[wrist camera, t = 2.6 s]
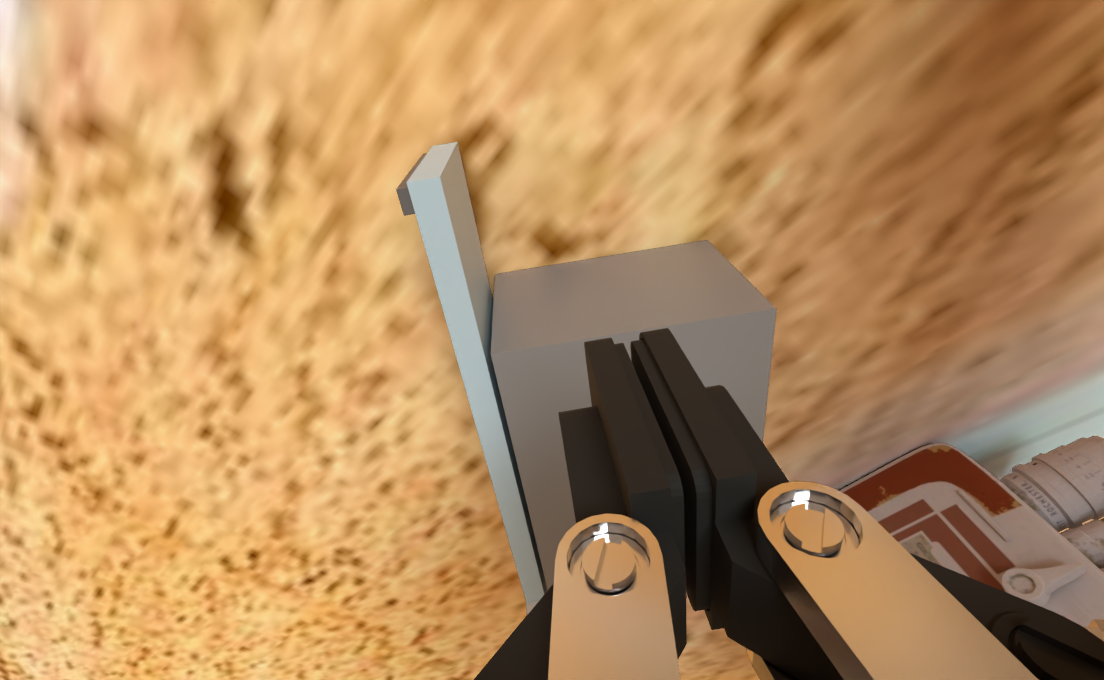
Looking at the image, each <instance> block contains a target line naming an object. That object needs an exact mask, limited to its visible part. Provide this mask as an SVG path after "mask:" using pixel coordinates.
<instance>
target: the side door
mask: <svg viewBox="0 0 1104 680" xmlns="http://www.w3.org/2000/svg"><path fill="white" fill-rule="evenodd" d="M396 190H397V194H398V197H399V201H400V204H401V207H402V211H403V214H404V215H410V214H416V218H417V221H418V225H419V228H420V232H421V235H422V239H423V242H424V246H425V249H426V253H427V256H428V260H429V263H430V267H431V270H432V274H433V277H434V281H435V284H436V288H437V291H438V295H439V298H440V302H441V305H442V309H443V312H444V316H445V319H446V323H447V326H448V330H449V333H450V337H451V340H452V344H453V347H454V351H455V354H456V358H457V361H458V365H459V368H460V372H461V375H462V379H463V382H464V386H465V390H466V393H467V397H468V400H469V404H470V407H471V411H472V414H473V418H474V421H475V425H476V428H477V432H478V435H479V439H480V442H481V446H482V449H483V453H484V456H485V460H486V463H487V467H488V470H489V474H490V477H491V481H492V484H493V488H494V491H495V495H496V498H497V502H498V505H499V509H500V512H501V516H502V519H503V523H504V526H505V530H506V533H507V537H508V540H509V544H510V547H511V551H512V554H513V558H514V561H515V565H516V568H517V572H518V575H519V579H520V582H521V586H522V589H523V593H524V596H525V600H526V613H527V615H528V614H529V612H530V611H531V610H532V609H533V608H534V606H535V605H536V604H537V603H538V602H539V600H540V599H541V598H542V597H543V596H544V594H545V593H546V592H547V591H548V589H547V585H546V581H545V577H544V572H543V568H542V564H541V560H540V556H539V552H538V548H537V544H536V539H535V535H534V531H533V527H532V523H531V519H530V515H529V511H528V506H527V502H526V498H525V494H524V490H523V486H522V482H521V477H520V473H519V469H518V465H517V461H516V457H515V453H514V449H513V444H512V440H511V436H510V432H509V428H508V424H507V420H506V416H505V411H504V407H503V403H502V399H501V395H500V391H499V387H498V383H497V378H496V374H495V370H494V366H493V362H492V358H491V339H492V320H493V298H492V294H491V289H490V285H489V280H488V276H487V272H486V267H485V263H484V258H483V254H482V249H481V245H480V240H479V236H478V231H477V227H476V223H475V218H474V214H473V209H472V205H471V200H470V196H469V191H468V187H467V182H466V178H465V174H464V169H463V165H462V160H461V156H460V151H459V147H458V142H454V143H448V144H441V145H435V146H432V147H431V149H430V150H429V152H428V153H425V154H423V155H422V156H421V157H420V159H419V160H418V161H417V163H416V164H415V165H414V167H413V168H412V169H411V171H410V172H409V173H408V175H407V176H406V177H405V179H404V180H403V181H402V183H401V184H400V185H399V187H398V188H397V189H396Z"/></svg>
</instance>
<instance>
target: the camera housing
mask: <svg viewBox="0 0 1104 680" xmlns="http://www.w3.org/2000/svg"><path fill="white" fill-rule="evenodd" d="M775 319H776V308H775V307H774V306H773V305H772V304H771V303H770V302H769V301H768V300H767V299H766V298H765V297H764V296H763V295H762V294H761V293H760V292H759V291H758V290H757V289H756V288H755V287H754V286H753V285H752V284H751V283H750V282H749V281H748V280H747V279H746V278H745V277H744V276H743V275H742V274H741V273H740V272H739V271H738V270H737V269H736V268H735V267H734V266H733V265H732V264H731V263H730V262H729V261H728V260H727V259H726V258H725V257H724V256H723V255H722V254H721V253H720V252H719V251H718V250H717V249H716V248H715V247H714V246H713V245H712V244H711V243H710V242H709V241H708V240H704V241H698V242H692V243H686V244H679V245H673V246H667V247H661V248H654V249H648V250H642V251H636V252H630V253H623V254H617V255H611V256H605V257H598V258H592V259H586V260H580V261H574V262H567V263H561V264H555V265H549V266H543V267H536V268H530V269H524V270H518V271H511V272H505V273H499V274H495V283H494V302H493V320H492V339H491V358H492V362H493V366H494V370H495V374H496V378H497V383H498V387H499V391H500V395H501V399H502V403H503V407H504V411H505V416H506V420H507V424H508V428H509V432H510V436H511V440H512V444H513V449H514V453H515V457H516V461H517V465H518V469H519V473H520V477H521V482H522V486H523V490H524V494H525V498H526V502H527V506H528V511H529V515H530V519H531V523H532V527H533V531H534V535H535V539H536V544H537V548H538V552H539V556H540V560H541V564H542V568H543V572H544V577H545V581H546V585H547V589H548V590H549V588H550V587H551V586H552V585H553V583H554V571H555V558H556V553H557V549H558V545H559V543H560V541H561V540H562V538H563V537H564V535H565V533H566V532H567V531H568V530H569V529H571V528H572V527H573V526H574V525H575V524H576V520H575V514H574V508H573V501H572V495H571V489H570V483H569V477H568V470H567V464H566V458H565V452H564V446H563V439H562V433H561V427H560V421H559V415H558V412H563V411H569V410H575V409H581V408H587V407H592V404H591V396H590V388H589V380H588V372H587V364H586V356H585V348H584V342H587V341H593V340H599V339H605V338H612V340H613V342H614V344H618V343H624V345H625V348H626V350H627V352H628V355H629V357H630V359H631V349H630V344H631V341H636V340H639V334H640V332H646V331H652V330H658V329H664V328H668V329H669V330H670V331H671V333H672V334H673V336H674V338H675V339H676V341H677V342H678V344H679V346H680V347H681V349H682V351H683V352H684V354H685V355H686V357H687V359H688V360H689V362H690V364H691V365H692V367H693V368H694V370H695V372H696V373H697V375H698V377H699V378H700V380H701V381H702V383H703V385H704V386H705V387H711V386H717V385H721V386H724V387H725V388H726V390H727V391H728V392H729V394H730V395H731V397H732V398H733V400H734V401H735V402H736V404H737V405H738V407H739V408H740V410H741V411H742V413H743V414H744V416H745V417H746V419H747V420H748V422H749V423H750V425H751V426H752V428H753V429H754V431H755V432H756V434H757V435H758V437H759V438H760V440H761V441H762V443H763V435H764V425H765V415H766V406H767V396H768V386H769V377H770V367H771V357H772V348H773V338H774V328H775ZM686 597H687V592H686Z"/></svg>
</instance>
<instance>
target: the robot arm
mask: <svg viewBox="0 0 1104 680" xmlns="http://www.w3.org/2000/svg"><path fill="white" fill-rule="evenodd" d="M584 348H585V356H586V364H587V372H588V380H589V388H590V396H591V404H592V407H587V408H581V409H575V410H569V411H563V412H558V415H559V421H560V427H561V433H562V439H563V446H564V452H565V458H566V464H567V470H568V477H569V483H570V489H571V495H572V501H573V508H574V514H575V520H576V524H575V525H574V526H573V527H572V528H571V529H569V530H568V531H567V532H566V533H565V535H564V537H563V538H562V540H561V541H560V543H559V545H558V549H557V553H556V558H555V571H554V583H553V585H552V586H551V587H550V588H549V590H548V591H547V592H546V593H545V594H544V596H543V597H542V598H541V599H540V600H539V602H538V603H537V604H536V605H535V606H534V608H533V609H532V610H531V611H530V612H529V614H528V615H527V616H526V617H525V619H524V620H523V621H522V622H521V623H520V625H519V626H518V627H517V628H516V629H515V631H514V632H513V633H512V634H511V635H510V637H509V638H508V639H507V640H506V641H505V643H504V644H503V645H502V646H501V648H500V649H499V650H498V651H497V652H496V654H495V655H494V656H493V657H492V658H491V660H490V661H489V662H488V663H487V664H486V666H485V667H484V668H483V669H482V670H481V672H480V673H479V674H478V675H477V677H476V678H475V679H474V680H681V679H680V672H679V665H678V658H679V656H680V655H681V653H682V651H683V649H684V647H685V646H686V644H687V642H686V592H687V595H688V598H689V600H690V603H691V606H692V608H693V610H694V611H698V610H705V613H706V616H707V618H708V621H709V624H710V627H711V629H712V630H714V629H720V628H724V629H725V631H726V634H727V636H728V637H729V638H731V639H732V640H734V641H736V642H737V643H739V644H741V645H742V646H744V647H746V651H747V654H748V656H749V659H750V661H751V664H752V666H753V668H754V670H755V671H756V673H757V675H758V677H759V678H760V680H1104V620H1100V619H1093V620H1092V621H1091V623H1090V624H1089V626H1088V627H1083V626H1081V625H1079V624H1077V623H1075V622H1073V621H1071V620H1069V619H1067V618H1065V617H1063V616H1061V615H1059V614H1057V613H1055V612H1053V611H1051V610H1048V609H1046V608H1043V607H1041V606H1038V605H1036V604H1033V603H1031V602H1029V601H1026V600H1024V599H1021V598H1019V597H1016V596H1014V595H1011V594H1009V593H1007V592H1004V591H1002V590H999V589H997V588H994V587H992V586H989V585H987V584H985V583H982V582H980V581H977V580H975V579H972V578H970V577H967V576H965V575H963V574H960V573H958V572H955V571H953V570H950V569H948V568H945V567H943V566H941V565H938V564H936V563H933V562H931V561H928V560H926V559H924V558H921V557H919V556H916V555H914V554H911V553H909V552H908V551H907V550H906V549H905V548H904V547H902V546H901V545H900V544H899V543H898V542H897V541H896V540H895V539H894V538H893V537H892V536H891V535H890V534H889V533H888V532H887V531H886V530H885V529H884V528H883V527H882V526H881V525H880V524H879V523H878V522H877V521H876V520H875V519H874V518H873V517H872V516H871V515H870V514H869V513H868V512H867V511H866V510H865V509H864V508H863V507H862V506H860V505H859V504H858V503H857V502H855V501H854V500H853V499H851V498H850V497H849V496H848V495H846V494H844V493H842V492H840V491H838V490H836V489H834V488H832V487H829V486H825V485H821V484H818V483H814V482H802V481H794V482H789V481H788V480H787V478H786V477H785V475H784V474H783V472H782V471H781V469H780V468H779V466H778V465H777V463H776V462H775V460H774V459H773V457H772V456H771V454H770V453H769V451H768V450H767V448H766V447H765V445H764V444H763V443H762V441H761V440H760V438H759V437H758V435H757V434H756V432H755V431H754V429H753V428H752V426H751V425H750V423H749V422H748V420H747V419H746V417H745V416H744V414H743V413H742V411H741V410H740V408H739V407H738V405H737V404H736V402H735V401H734V400H733V398H732V397H731V395H730V394H729V392H728V391H727V390H726V388H725V387H724V386H721V385H717V386H711V387H705V386H704V385H703V383H702V381H701V380H700V378H699V377H698V375H697V373H696V372H695V370H694V368H693V367H692V365H691V364H690V362H689V360H688V359H687V357H686V355H685V354H684V352H683V351H682V349H681V347H680V346H679V344H678V342H677V341H676V339H675V338H674V336H673V334H672V333H671V331H670V330H669V329H668V328H664V329H658V330H652V331H646V332H640V334H639V340H636V341H631V344H630V349H631V359H630V357H629V355H628V352H627V350H626V348H625V345H624V343H618V344H614V342H613V340H612V338H605V339H599V340H593V341H587V342H584Z"/></svg>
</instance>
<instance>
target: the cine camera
mask: <svg viewBox="0 0 1104 680" xmlns="http://www.w3.org/2000/svg"><path fill="white" fill-rule="evenodd" d="M840 492H842V493H844V494H846V495H848V496H849V497H850V498H851V499H853V500H854V501H855V502H857V503H858V504H859V505H860V506H862V507H863V508H864V509H865V510H866V511H867V512H868V513H869V514H870V515H871V516H872V517H873V518H874V519H875V520H876V521H877V522H878V523H879V524H880V525H881V526H882V527H883V528H884V529H885V530H886V531H887V532H888V533H889V534H890V535H891V536H892V537H893V538H894V539H895V540H896V541H897V542H898V543H899V544H900V545H901V546H902V547H904V548H905V549H906V550H907V551H908V552H909V553H911V554H914V555H916V556H919V557H921V558H924V559H926V560H928V561H931V562H933V563H936V564H938V565H941V566H943V567H945V568H948V569H950V570H953V571H955V572H958V573H960V574H963V575H965V576H967V577H970V578H972V579H975V580H977V581H980V582H982V583H985V584H987V585H989V586H992V587H994V588H997V589H999V590H1002V591H1004V592H1007V593H1009V594H1011V595H1014V596H1016V597H1019V598H1021V599H1024V600H1026V601H1029V602H1031V603H1033V604H1036V605H1038V606H1041V607H1043V608H1046V609H1048V610H1051V611H1053V612H1055V613H1057V614H1059V615H1061V616H1063V617H1065V618H1067V619H1069V620H1071V621H1073V622H1075V623H1077V624H1079V625H1081V626H1083V627H1088V626H1089V624H1090V623H1091V621H1092V620H1093V619H1100V620H1104V518H1103V519H1101V520H1098V519H1100V518H1102V517H1104V439H1103V438H1101V437H1098V436H1092V437H1090V438H1080V439H1078V440H1076V441H1074V442H1072V443H1070V444H1068V445H1066V446H1060V447H1058V448H1056V449H1054V450H1052V451H1050V452H1048V453H1046V454H1042V453H1041V454H1039V455H1037V456H1035V457H1033V458H1032V461H1031V462H1029V463H1027V464H1025V465H1021V464H1019V465H1017V466H1015V467H1013V468H1012V473H1010V474H1008V475H1006V476H1004V477H1003V478H1002V479H1001V481H999V480H998V479H997V478H996V477H995V476H994V475H993V474H991V473H990V472H989V471H987V470H986V469H985V468H983V467H982V466H981V465H979V464H978V463H977V462H976V461H974V460H973V459H972V458H970V457H969V456H968V455H966V454H965V453H964V452H962V451H961V450H959V449H957V448H955V447H953V446H951V445H949V444H945V443H935V444H929V445H926V446H923V447H920V448H918V449H916V450H914V451H912V452H910V453H908V454H906V455H904V456H902V457H900V458H899V459H897V460H895V461H893V462H891V463H889V464H887V465H886V466H884V467H882V468H880V469H878V470H876V471H875V472H873V473H871V474H869V475H867V476H865V477H864V478H862V479H860V480H858V481H856V482H854V483H852V484H851V485H849V486H847V487H845V488H843V489H841V490H840ZM1090 519H1094V520H1093V521H1091V522H1089V523H1087V524H1084V525H1082V523H1083V522H1085V521H1087V520H1090ZM1066 528H1069V529H1068V530H1066V531H1064V532H1062V533H1059V531H1062V530H1064V529H1066Z"/></svg>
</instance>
